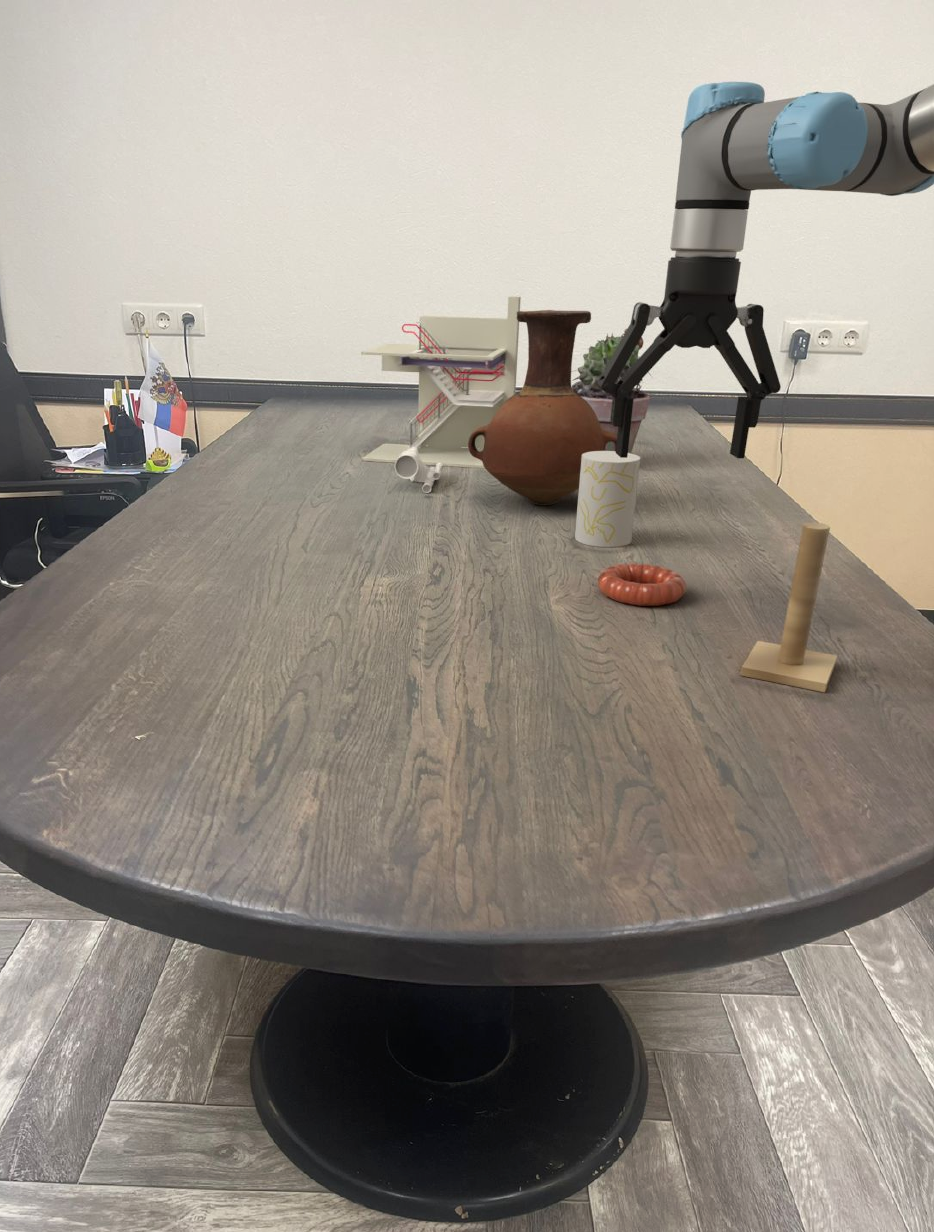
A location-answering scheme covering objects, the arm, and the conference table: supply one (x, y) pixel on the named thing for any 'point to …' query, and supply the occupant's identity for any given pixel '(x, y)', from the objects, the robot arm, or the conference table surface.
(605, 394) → the potted plant
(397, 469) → the white pipe fitting
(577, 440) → the vase
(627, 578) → the ring
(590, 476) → the white patterned cylinder
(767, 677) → the post
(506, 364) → the staircase
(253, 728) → the conference table surface
